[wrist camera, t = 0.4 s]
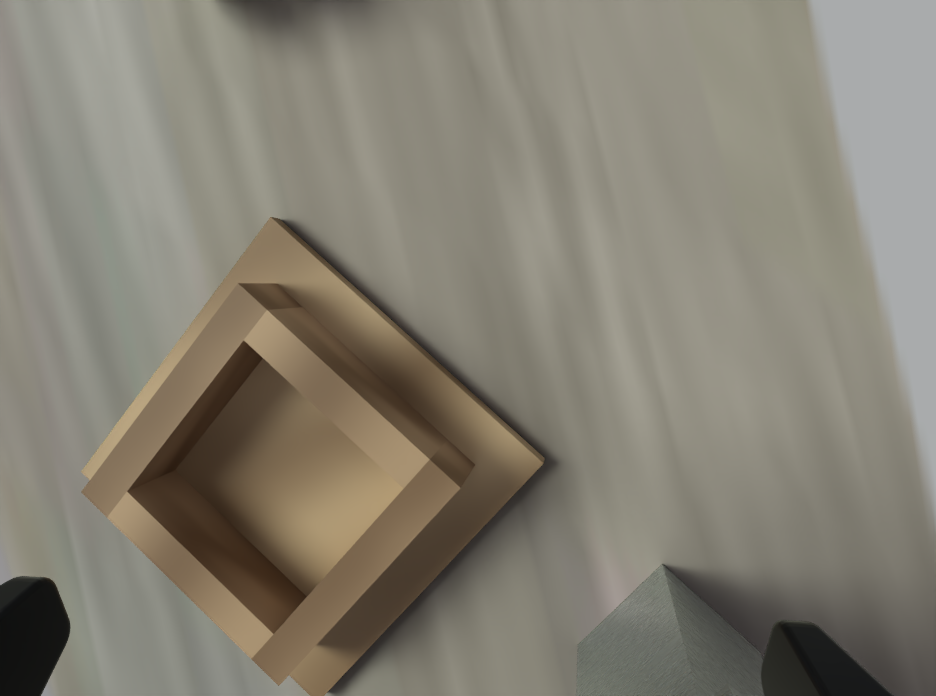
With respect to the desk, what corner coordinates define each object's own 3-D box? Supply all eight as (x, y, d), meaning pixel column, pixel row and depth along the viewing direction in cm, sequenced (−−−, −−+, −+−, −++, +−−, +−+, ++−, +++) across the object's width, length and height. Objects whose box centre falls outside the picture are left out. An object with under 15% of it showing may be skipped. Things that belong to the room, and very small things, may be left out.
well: (544, 458, 21) (537, 487, 18) (324, 692, 23) (285, 751, 20) (279, 218, 21) (230, 208, 19) (93, 467, 24) (24, 492, 21)
